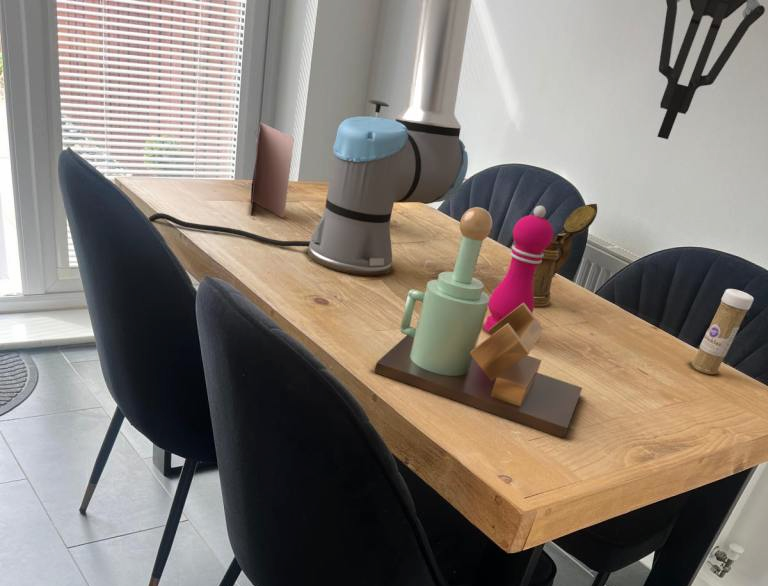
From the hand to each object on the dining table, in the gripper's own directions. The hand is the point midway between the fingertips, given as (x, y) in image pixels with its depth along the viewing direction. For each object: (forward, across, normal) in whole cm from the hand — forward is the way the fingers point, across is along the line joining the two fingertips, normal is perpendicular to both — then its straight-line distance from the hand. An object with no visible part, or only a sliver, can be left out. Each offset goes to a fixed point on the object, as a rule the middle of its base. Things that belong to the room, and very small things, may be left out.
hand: (662, 137), depth 106 cm
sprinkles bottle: (+33, +20, +11) cm, 40 cm away
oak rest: (+31, -9, -27) cm, 42 cm away
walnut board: (+32, -11, -26) cm, 43 cm away
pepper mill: (+33, -13, -3) cm, 35 cm away
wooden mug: (+33, -12, +21) cm, 41 cm away
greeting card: (+33, -70, +23) cm, 81 cm away
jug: (+30, -12, -27) cm, 42 cm away
